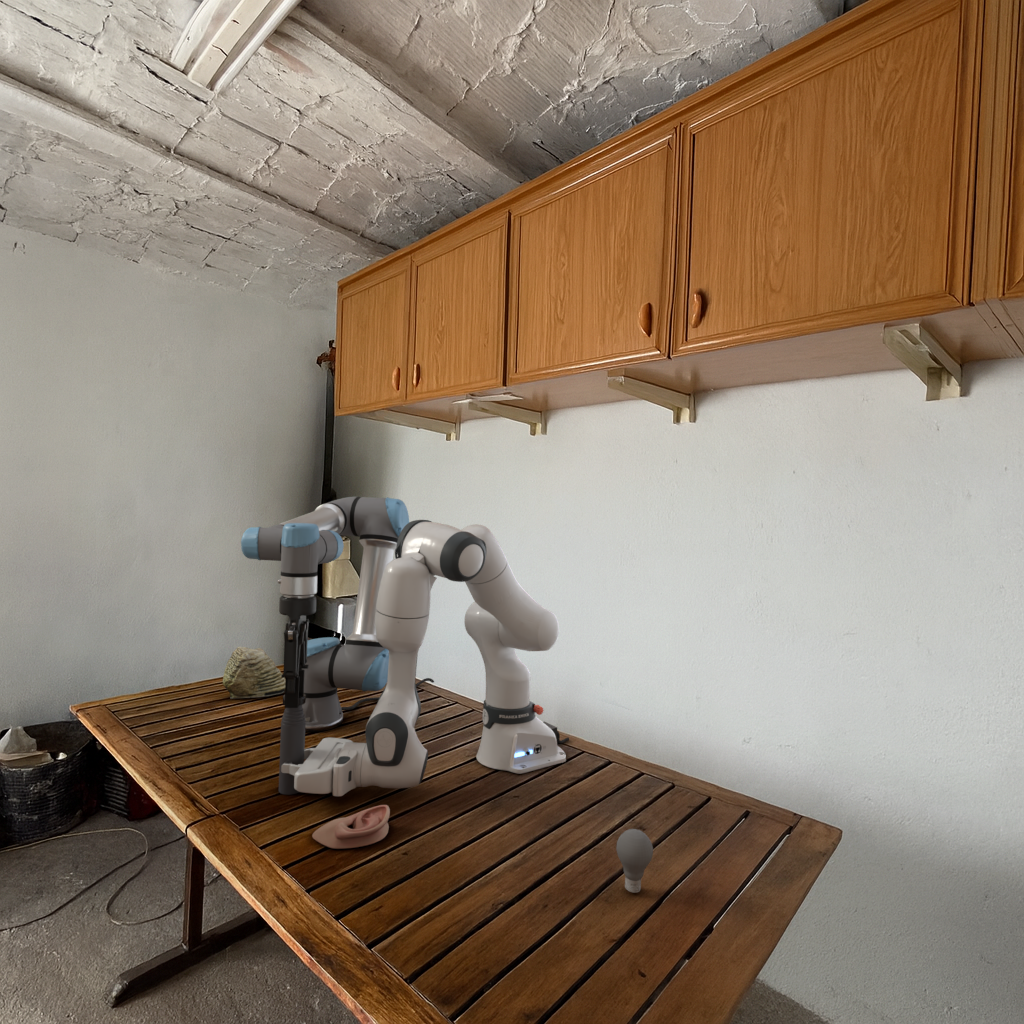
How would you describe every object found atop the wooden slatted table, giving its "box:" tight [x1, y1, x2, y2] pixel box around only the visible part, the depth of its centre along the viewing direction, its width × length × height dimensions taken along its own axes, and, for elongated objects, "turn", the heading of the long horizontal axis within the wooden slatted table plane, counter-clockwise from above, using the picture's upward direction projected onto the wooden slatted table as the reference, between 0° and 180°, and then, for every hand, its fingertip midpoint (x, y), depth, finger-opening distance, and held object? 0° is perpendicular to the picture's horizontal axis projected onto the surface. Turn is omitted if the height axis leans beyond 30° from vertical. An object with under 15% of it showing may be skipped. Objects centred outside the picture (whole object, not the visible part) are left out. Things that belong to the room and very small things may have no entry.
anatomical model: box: [311, 804, 391, 850], centre depth 119 cm, size 13×4×12 cm
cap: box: [282, 692, 306, 706], centre depth 136 cm, size 5×5×2 cm
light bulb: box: [615, 828, 654, 894], centre depth 106 cm, size 6×6×10 cm
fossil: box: [222, 646, 286, 699], centre depth 198 cm, size 9×18×15 cm, turn 132°
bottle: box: [278, 705, 306, 796], centre depth 136 cm, size 5×5×20 cm
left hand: (294, 703), depth 136 cm, fingers closed on cap, 4 cm apart
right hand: (287, 761), depth 136 cm, fingers closed on bottle, 5 cm apart
